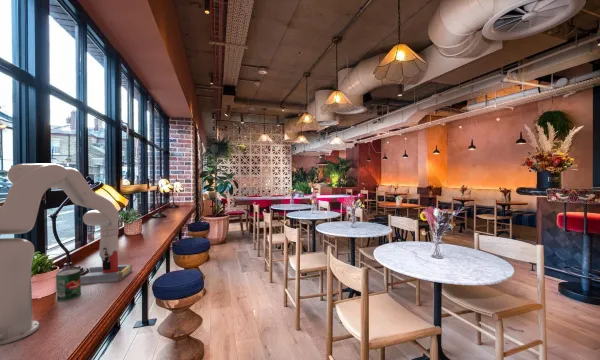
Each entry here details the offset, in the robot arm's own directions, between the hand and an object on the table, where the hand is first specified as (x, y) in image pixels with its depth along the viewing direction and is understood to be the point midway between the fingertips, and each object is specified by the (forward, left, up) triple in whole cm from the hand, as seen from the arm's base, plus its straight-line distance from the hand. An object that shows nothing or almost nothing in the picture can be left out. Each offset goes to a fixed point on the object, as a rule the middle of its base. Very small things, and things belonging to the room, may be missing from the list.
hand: (110, 267), depth 137 cm
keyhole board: (0, +3, -5) cm, 6 cm away
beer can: (0, 0, -4) cm, 4 cm away
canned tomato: (-22, +6, -5) cm, 23 cm away
